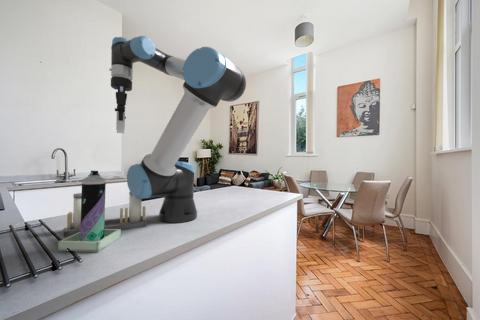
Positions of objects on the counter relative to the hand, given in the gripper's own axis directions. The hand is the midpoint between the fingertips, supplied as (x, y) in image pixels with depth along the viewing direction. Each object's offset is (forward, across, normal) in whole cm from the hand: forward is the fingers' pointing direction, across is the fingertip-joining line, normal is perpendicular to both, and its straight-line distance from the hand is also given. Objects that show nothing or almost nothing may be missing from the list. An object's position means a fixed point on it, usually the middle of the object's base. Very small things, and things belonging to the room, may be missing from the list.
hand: (120, 131), depth 84 cm
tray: (+35, +26, -6) cm, 44 cm away
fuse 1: (+35, +12, -10) cm, 38 cm away
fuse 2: (+35, +12, +6) cm, 37 cm away
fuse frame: (+35, +12, -2) cm, 37 cm away
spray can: (+34, +26, -6) cm, 44 cm away
